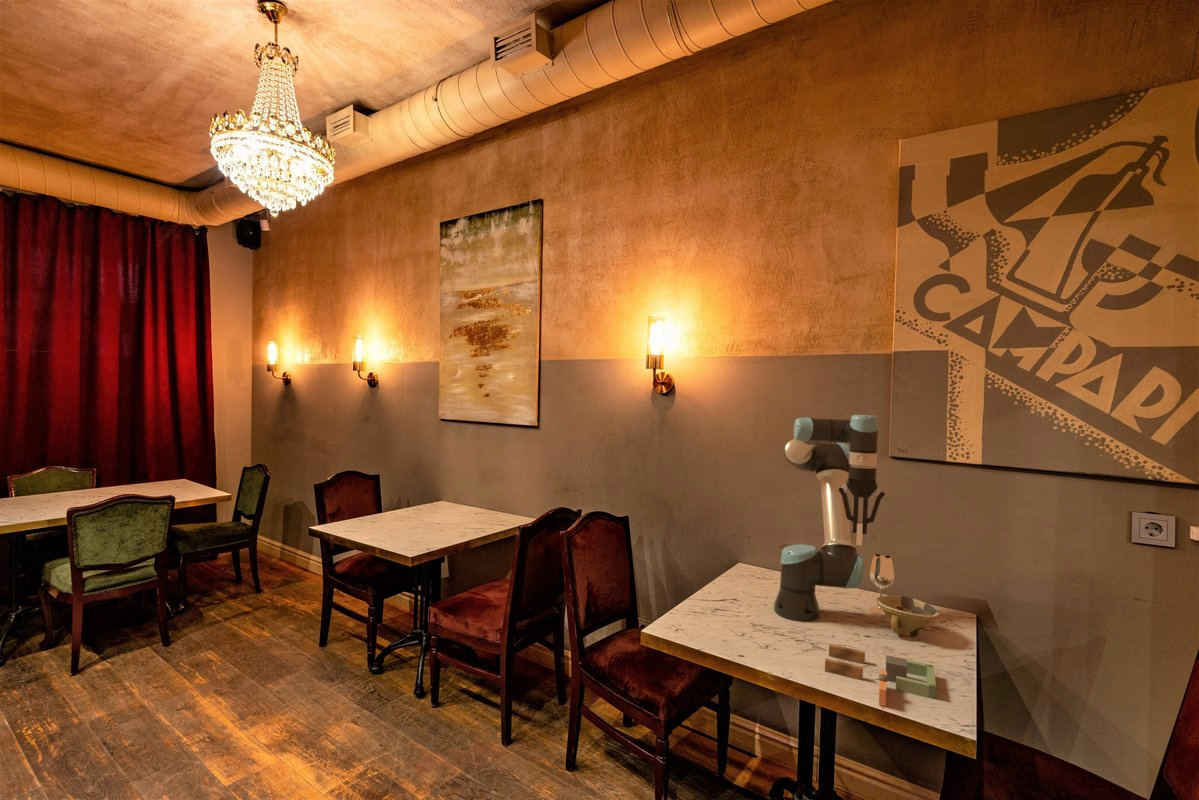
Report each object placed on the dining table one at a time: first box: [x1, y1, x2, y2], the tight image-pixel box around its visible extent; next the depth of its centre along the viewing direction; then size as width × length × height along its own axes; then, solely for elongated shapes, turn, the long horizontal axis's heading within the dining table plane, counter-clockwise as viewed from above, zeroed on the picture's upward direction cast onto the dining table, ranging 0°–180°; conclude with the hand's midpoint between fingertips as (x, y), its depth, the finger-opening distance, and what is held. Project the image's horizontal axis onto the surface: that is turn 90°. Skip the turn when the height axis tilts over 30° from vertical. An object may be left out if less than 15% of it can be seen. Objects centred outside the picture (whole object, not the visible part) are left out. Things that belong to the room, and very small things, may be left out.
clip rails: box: [824, 643, 866, 681], centre depth 161 cm, size 10×12×3 cm
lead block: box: [885, 654, 908, 684], centre depth 155 cm, size 5×5×5 cm
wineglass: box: [868, 553, 895, 616], centre depth 204 cm, size 8×8×20 cm
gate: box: [878, 669, 889, 707], centre depth 146 cm, size 2×11×5 cm, turn 152°
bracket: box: [895, 659, 937, 700], centre depth 153 cm, size 9×14×3 cm, turn 152°
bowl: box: [875, 594, 941, 638], centre depth 186 cm, size 18×18×10 cm
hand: (859, 544), depth 172 cm, fingers closed
